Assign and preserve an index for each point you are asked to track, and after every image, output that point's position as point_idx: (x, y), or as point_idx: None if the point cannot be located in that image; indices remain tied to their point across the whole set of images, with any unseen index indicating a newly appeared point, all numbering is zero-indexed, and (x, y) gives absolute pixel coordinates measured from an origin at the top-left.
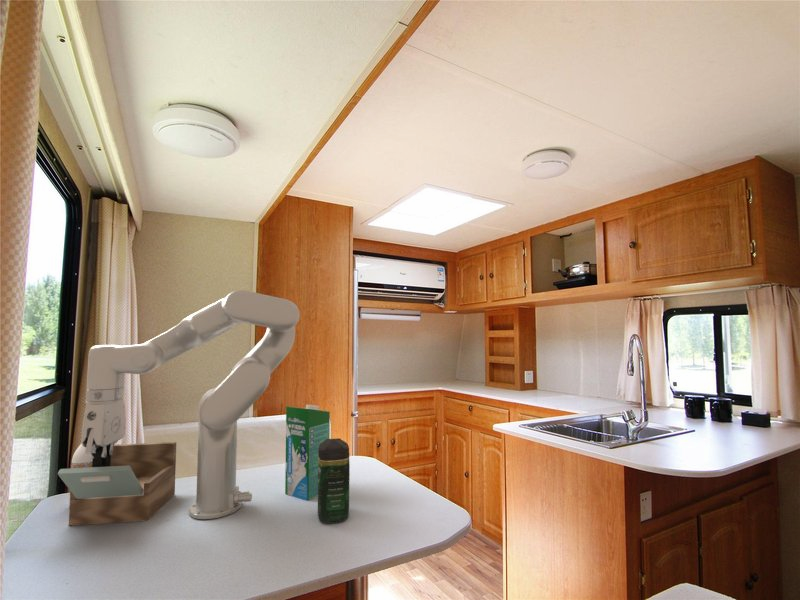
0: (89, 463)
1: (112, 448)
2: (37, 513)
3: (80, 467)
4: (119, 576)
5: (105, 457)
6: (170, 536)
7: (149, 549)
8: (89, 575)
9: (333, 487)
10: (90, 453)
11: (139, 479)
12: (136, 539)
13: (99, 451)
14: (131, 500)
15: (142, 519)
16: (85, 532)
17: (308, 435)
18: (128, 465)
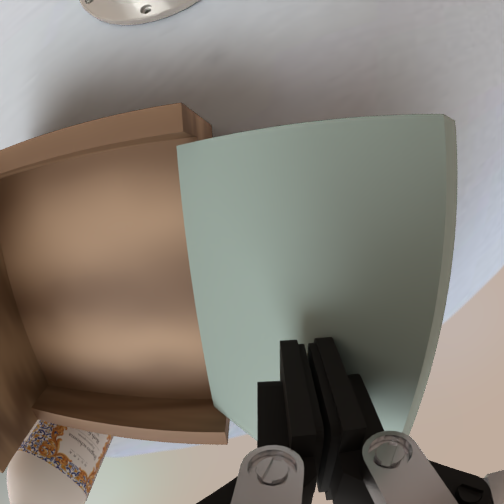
0: (64, 468)
1: (240, 497)
2: (165, 450)
3: (84, 477)
4: (496, 71)
5: (361, 434)
6: (337, 6)
7: (406, 37)
8: (495, 134)
9: None
10: (48, 492)
11: (26, 281)
12: (352, 92)
13: (471, 481)
14: None
15: None
16: None
17: None
18: (445, 123)
